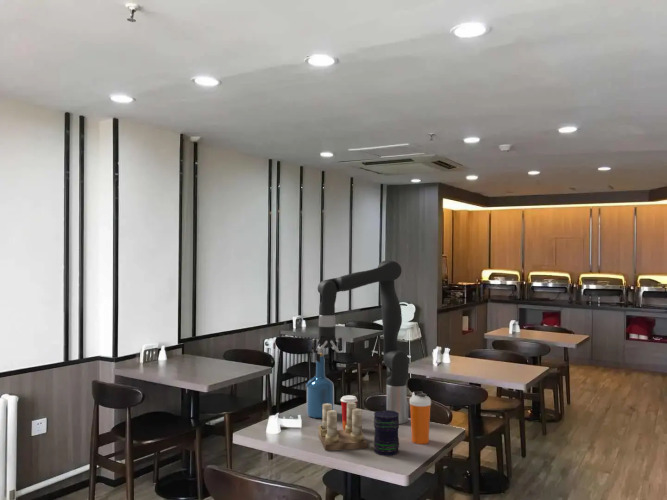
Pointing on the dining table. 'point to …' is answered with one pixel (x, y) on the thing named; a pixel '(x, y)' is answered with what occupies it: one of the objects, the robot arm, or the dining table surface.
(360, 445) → the stool
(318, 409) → the wine bottle
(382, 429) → the storage jar
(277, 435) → the dining table surface
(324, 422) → the leg
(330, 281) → the robot arm
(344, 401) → the paper cup
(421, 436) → the shaker bottle
